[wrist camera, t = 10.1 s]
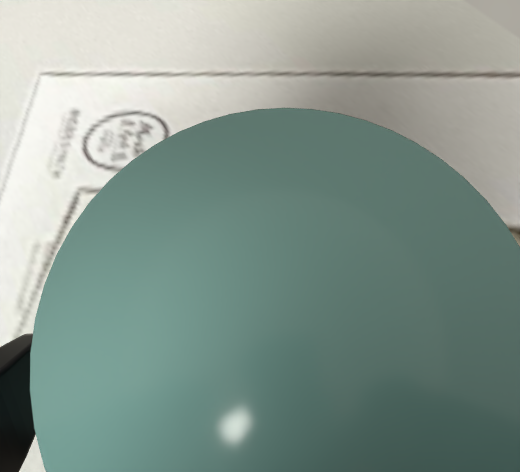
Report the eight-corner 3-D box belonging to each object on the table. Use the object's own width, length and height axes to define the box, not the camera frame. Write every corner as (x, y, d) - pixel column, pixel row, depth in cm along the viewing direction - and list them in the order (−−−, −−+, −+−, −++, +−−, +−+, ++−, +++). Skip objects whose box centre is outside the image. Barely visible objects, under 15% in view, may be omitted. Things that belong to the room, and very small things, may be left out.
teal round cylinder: (334, 429, 14) (643, 659, 3) (205, 430, 14) (-36, 662, 3) (325, 300, 16) (491, 106, 4) (210, 301, 16) (78, 109, 5)
